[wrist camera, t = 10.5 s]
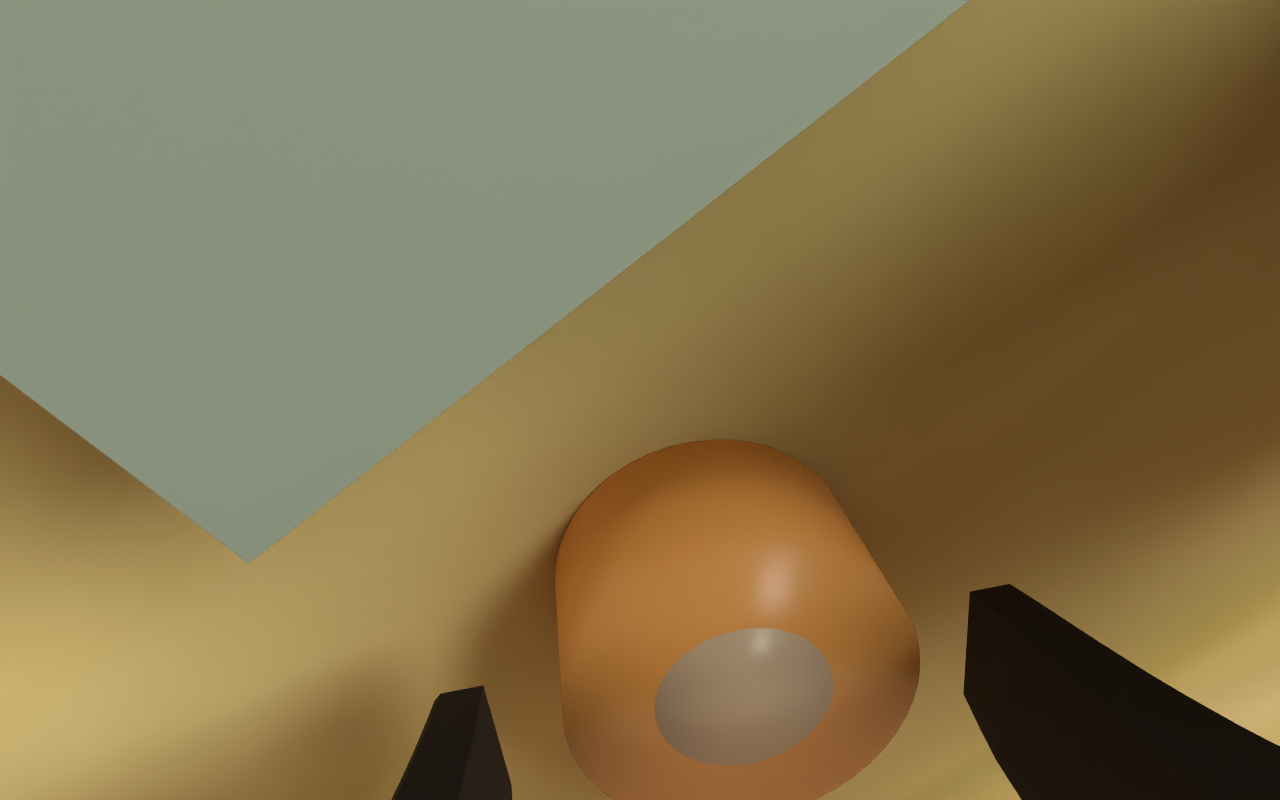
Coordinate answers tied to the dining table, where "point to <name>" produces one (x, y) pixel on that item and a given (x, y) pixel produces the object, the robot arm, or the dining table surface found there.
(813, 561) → the orange dome grey spot
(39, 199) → the lid
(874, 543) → the dining table surface
